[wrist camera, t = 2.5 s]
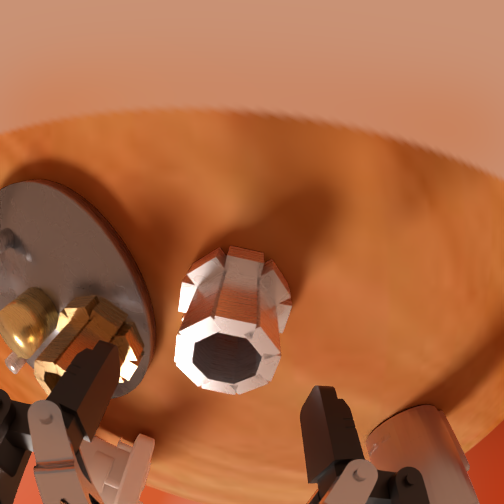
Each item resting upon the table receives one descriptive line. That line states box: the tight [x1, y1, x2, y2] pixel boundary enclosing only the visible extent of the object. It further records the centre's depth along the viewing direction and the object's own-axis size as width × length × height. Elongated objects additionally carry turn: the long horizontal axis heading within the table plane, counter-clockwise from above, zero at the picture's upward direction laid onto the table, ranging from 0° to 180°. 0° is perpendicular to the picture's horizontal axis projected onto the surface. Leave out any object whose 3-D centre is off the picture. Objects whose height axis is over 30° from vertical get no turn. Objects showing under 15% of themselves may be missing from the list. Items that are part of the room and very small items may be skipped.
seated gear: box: [34, 295, 145, 396], centre depth 14 cm, size 6×6×6 cm
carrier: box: [0, 179, 156, 399], centre depth 16 cm, size 20×20×6 cm
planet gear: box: [175, 245, 292, 395], centre depth 14 cm, size 6×6×6 cm
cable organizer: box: [80, 433, 155, 504], centre depth 20 cm, size 15×11×12 cm
